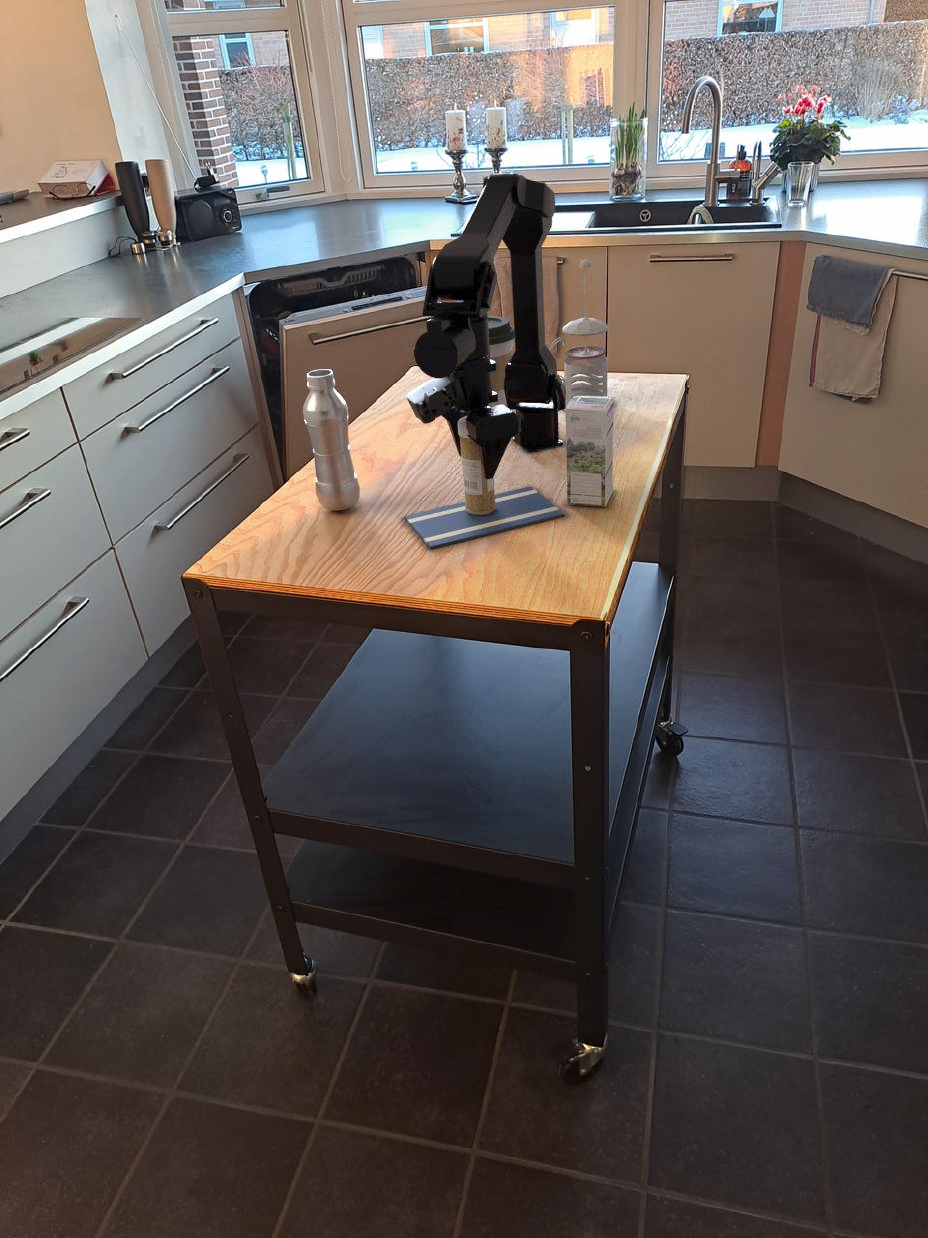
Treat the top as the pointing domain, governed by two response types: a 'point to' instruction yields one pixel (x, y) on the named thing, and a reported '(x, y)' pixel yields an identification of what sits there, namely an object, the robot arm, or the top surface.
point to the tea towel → (482, 518)
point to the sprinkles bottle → (474, 476)
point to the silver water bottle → (330, 442)
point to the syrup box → (589, 450)
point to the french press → (584, 356)
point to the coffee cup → (500, 353)
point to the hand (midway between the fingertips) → (476, 467)
